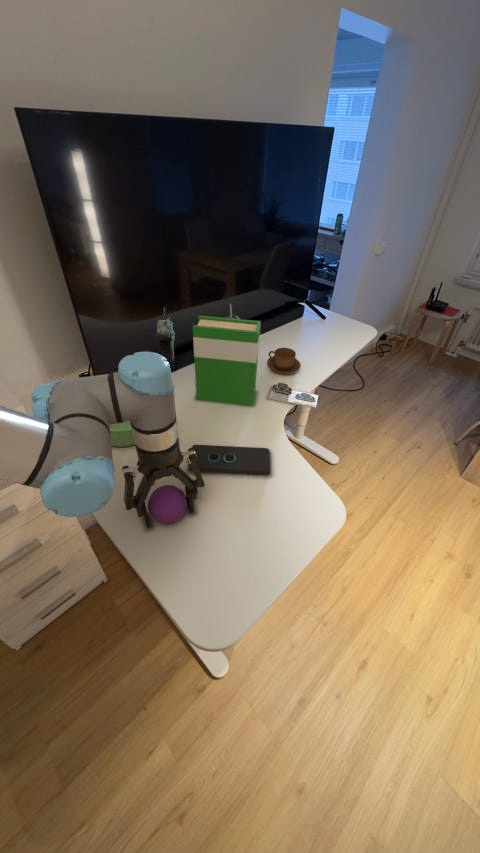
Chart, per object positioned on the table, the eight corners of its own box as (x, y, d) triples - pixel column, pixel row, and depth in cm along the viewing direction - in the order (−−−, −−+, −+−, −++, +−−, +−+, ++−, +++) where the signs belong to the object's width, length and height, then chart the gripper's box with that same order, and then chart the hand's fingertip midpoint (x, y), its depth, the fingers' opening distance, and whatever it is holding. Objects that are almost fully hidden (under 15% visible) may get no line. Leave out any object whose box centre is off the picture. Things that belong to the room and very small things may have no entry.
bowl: (75, 435, 92) (69, 418, 88) (120, 396, 106) (116, 380, 102) (137, 456, 87) (134, 439, 83) (175, 412, 101) (174, 396, 97)
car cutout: (268, 398, 108) (269, 386, 106) (272, 387, 113) (274, 375, 110) (315, 408, 106) (318, 396, 103) (318, 396, 111) (320, 384, 108)
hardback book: (196, 399, 107) (192, 326, 91) (201, 386, 112) (198, 315, 96) (252, 405, 105) (258, 332, 90) (255, 391, 111) (260, 321, 95)
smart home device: (192, 443, 89) (269, 447, 89) (192, 448, 90) (268, 452, 90) (188, 467, 83) (270, 471, 83) (188, 472, 84) (269, 475, 84)
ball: (143, 523, 73) (137, 500, 67) (162, 495, 78) (159, 472, 73) (176, 536, 71) (173, 514, 65) (194, 507, 76) (192, 484, 71)
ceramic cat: (176, 372, 118) (170, 316, 105) (157, 372, 117) (149, 316, 104) (180, 345, 133) (176, 293, 120) (163, 344, 132) (157, 292, 119)
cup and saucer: (264, 374, 119) (265, 358, 115) (268, 357, 128) (270, 342, 124) (298, 379, 118) (301, 363, 114) (300, 361, 127) (303, 346, 123)
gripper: (207, 412, 66) (209, 487, 80) (89, 440, 59) (115, 517, 73) (222, 437, 60) (221, 512, 75) (94, 470, 53) (121, 546, 68)
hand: (169, 514), depth 74 cm, fingers open, 9 cm apart
